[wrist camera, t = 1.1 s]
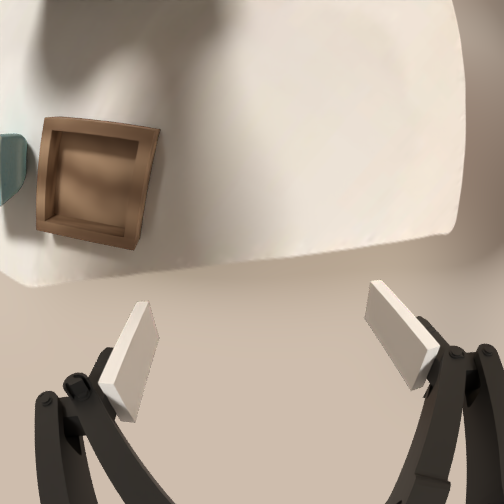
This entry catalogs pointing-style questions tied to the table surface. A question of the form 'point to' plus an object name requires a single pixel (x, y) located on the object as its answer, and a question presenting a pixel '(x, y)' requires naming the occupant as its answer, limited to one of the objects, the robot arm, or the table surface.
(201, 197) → the table surface
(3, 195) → the flower pot
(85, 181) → the wooden tray
